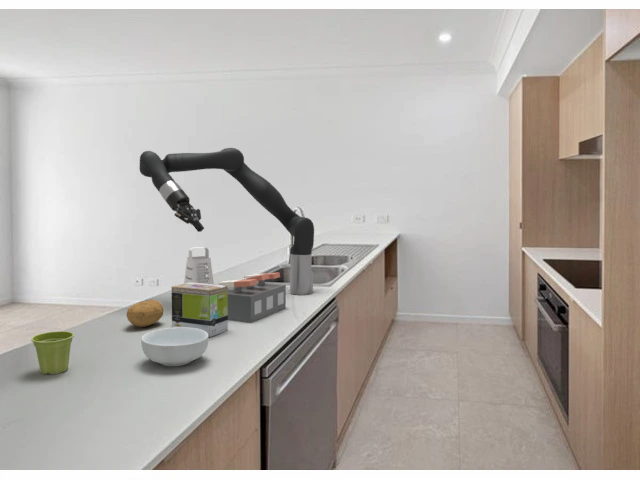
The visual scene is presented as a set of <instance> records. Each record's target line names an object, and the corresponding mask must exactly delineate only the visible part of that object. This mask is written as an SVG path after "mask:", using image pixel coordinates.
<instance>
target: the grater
mask: <svg viewBox="0 0 640 480" xmlns="http://www.w3.org/2000/svg"><path fill="white" fill-rule="evenodd" d="M194 249H204V250H205V251H204V252H205V253H204V255H203V256H199V255H198V256H193V250H194ZM209 255H210V251H209V248H208V247H206V246H193V247H190V248H189V249H188V256H186V265H185V274H184V280H183V284H185V283H190V282H194V283H205V284H215V283H214V274H213V268H212V266H213V265H212V261H211V257H210V256H209Z"/></svg>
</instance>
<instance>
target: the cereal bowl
mask: <svg viewBox="0 0 640 480" xmlns="http://www.w3.org/2000/svg"><path fill="white" fill-rule="evenodd" d="M140 340H141V341H140V342H141V347H142V348H141V349H142V351H143V354H144V355H145V357H146V358H148V360H151V361H153V362H155V363H158V364H161V365H162V366H165V367H179V366H184V365H188V364H190V363H191V362H193V361H194V360H197V359H199V358H200V357H202V355H204V353H205V352H206V351H207V348H208V347H209V345H208V344H209V337H208V333H207V332H206V331H204V330H201V329H197V328H189V327H173V328H172V327H165V328H159V329H155V330H152V331H149V332H147V333H145V334H143V335H142V336H141V339H140Z"/></svg>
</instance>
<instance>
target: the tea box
mask: <svg viewBox="0 0 640 480" xmlns="http://www.w3.org/2000/svg"><path fill="white" fill-rule="evenodd" d="M173 327H189V328H197V329H201V330H204V331H206V332H207V333H208V338H210V337H214V336H217V335H219V334H222V333H225V332H226V331H228V329H229V320H228V286H227V285H218V284H215V283H214V284H205V283H194V282H190V283H185V284H184V283H181V284H177V285H172V286H171V328H173Z"/></svg>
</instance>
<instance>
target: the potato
mask: <svg viewBox="0 0 640 480" xmlns="http://www.w3.org/2000/svg"><path fill="white" fill-rule="evenodd" d="M164 310H165V309H164V306H163V304H162V303H161V302H160V301H158V300H157V299H149V300H144V301H139V302H136V303H134V304H133V305H131V306H129V308H128V309H127V311H126V314H125V315H126V318H127V321H128V322H129V323H130V324H131V325H133V326H134V327H139V328H144V327H145V328H146V326H147V327H148V326H151V325H153V324H156V323H157V322H159V320H160V319H161V318H162V317H163V315H164Z"/></svg>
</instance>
